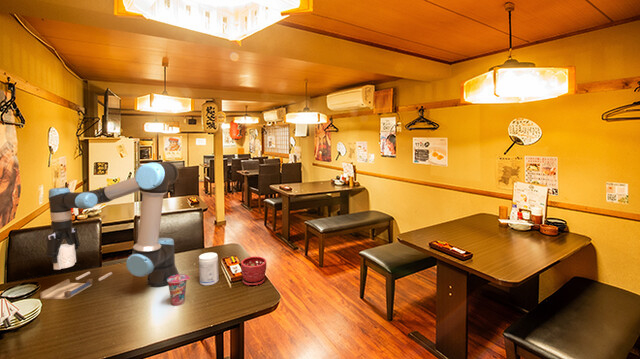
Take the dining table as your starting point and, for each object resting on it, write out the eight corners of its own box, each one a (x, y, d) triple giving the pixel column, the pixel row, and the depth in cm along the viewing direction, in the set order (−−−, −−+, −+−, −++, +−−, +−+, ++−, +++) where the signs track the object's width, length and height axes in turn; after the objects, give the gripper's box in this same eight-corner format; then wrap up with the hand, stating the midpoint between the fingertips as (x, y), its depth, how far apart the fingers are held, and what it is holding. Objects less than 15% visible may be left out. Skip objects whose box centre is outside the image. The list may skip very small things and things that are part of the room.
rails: (112, 274, 161) (112, 272, 161) (100, 280, 153) (100, 278, 153) (88, 273, 161) (88, 271, 161) (75, 279, 153) (75, 278, 153)
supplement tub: (208, 276, 159) (207, 251, 157) (222, 279, 156) (221, 253, 154) (195, 284, 150) (194, 257, 148) (210, 287, 147) (209, 259, 145)
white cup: (63, 270, 135) (61, 249, 134) (50, 268, 137) (48, 248, 136) (80, 263, 143) (78, 244, 142) (67, 262, 144) (66, 243, 143)
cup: (168, 309, 126) (166, 283, 125) (168, 300, 134) (167, 276, 132) (191, 304, 130) (190, 279, 129) (190, 296, 138) (189, 272, 137)
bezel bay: (92, 284, 148) (92, 279, 147) (68, 299, 134) (67, 292, 134) (68, 284, 148) (67, 278, 148) (40, 298, 134) (40, 291, 134)
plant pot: (236, 285, 149) (235, 263, 148) (251, 275, 161) (251, 254, 160) (257, 290, 144) (257, 267, 143) (271, 279, 156) (271, 258, 155)
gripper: (73, 214, 148) (76, 257, 150) (32, 225, 127) (36, 274, 130) (87, 215, 147) (90, 257, 150) (48, 225, 127) (52, 274, 129)
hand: (65, 265), depth 140 cm, fingers closed on white cup, 7 cm apart
